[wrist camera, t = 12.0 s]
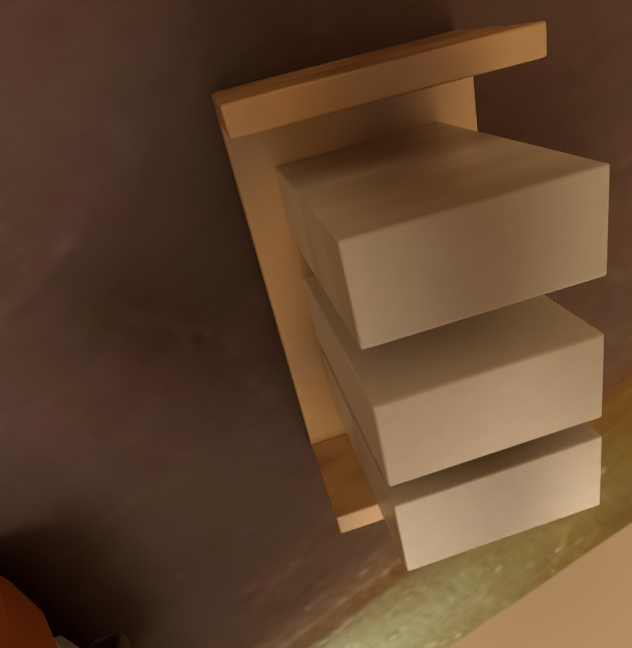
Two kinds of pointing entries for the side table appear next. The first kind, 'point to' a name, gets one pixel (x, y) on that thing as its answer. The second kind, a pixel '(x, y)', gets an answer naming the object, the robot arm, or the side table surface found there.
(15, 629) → the alarm clock
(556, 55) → the side table surface
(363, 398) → the tan flat block
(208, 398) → the side table surface
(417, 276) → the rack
